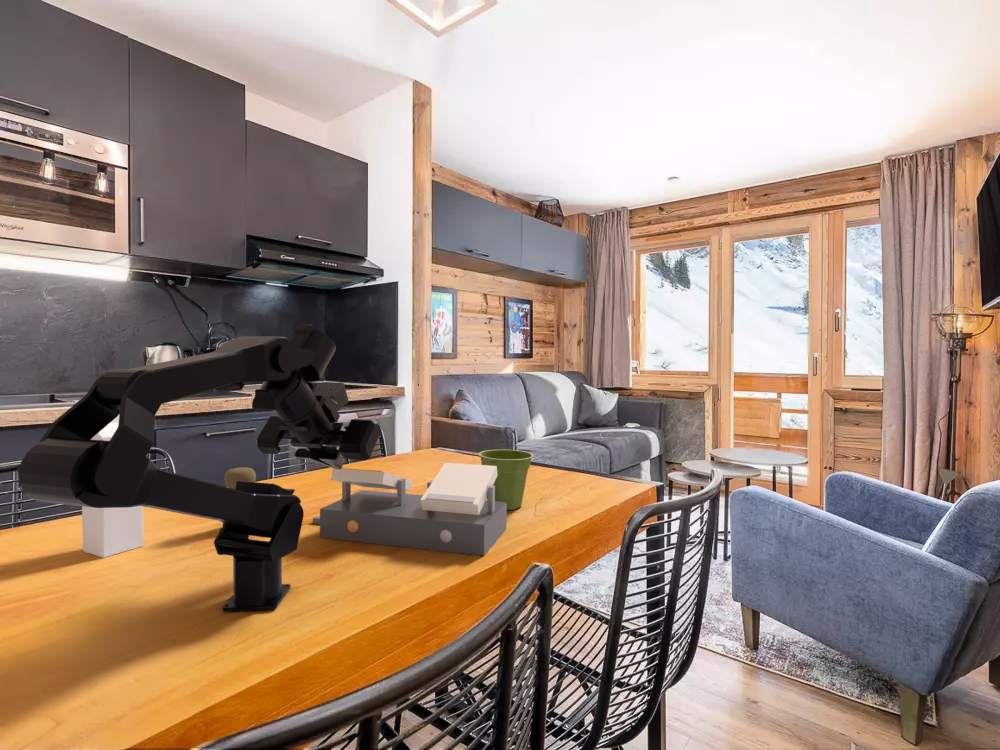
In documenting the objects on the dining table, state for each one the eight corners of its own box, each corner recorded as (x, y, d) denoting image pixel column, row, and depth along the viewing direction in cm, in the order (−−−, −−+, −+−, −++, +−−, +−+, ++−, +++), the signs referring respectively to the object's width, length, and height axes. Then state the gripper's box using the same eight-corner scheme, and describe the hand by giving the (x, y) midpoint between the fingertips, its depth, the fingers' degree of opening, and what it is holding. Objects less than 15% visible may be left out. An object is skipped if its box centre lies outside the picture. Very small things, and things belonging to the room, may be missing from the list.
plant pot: (501, 517, 105) (502, 461, 105) (466, 504, 114) (467, 452, 114) (544, 507, 112) (545, 455, 112) (508, 496, 122) (508, 447, 121)
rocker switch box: (483, 556, 84) (484, 497, 84) (289, 534, 94) (289, 481, 94) (506, 529, 98) (506, 478, 98) (335, 512, 107) (335, 465, 107)
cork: (244, 534, 94) (243, 472, 93) (214, 531, 95) (213, 470, 95) (265, 523, 100) (265, 465, 99) (237, 521, 101) (237, 464, 100)
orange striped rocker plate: (382, 484, 90) (384, 471, 91) (330, 479, 93) (333, 467, 93) (410, 490, 101) (412, 479, 102) (363, 487, 104) (365, 475, 104)
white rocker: (478, 514, 86) (477, 503, 86) (422, 509, 89) (420, 498, 88) (497, 475, 97) (496, 465, 96) (446, 471, 100) (445, 461, 99)
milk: (82, 552, 85) (79, 414, 84) (123, 540, 90) (120, 411, 89) (104, 558, 82) (100, 416, 81) (144, 546, 87) (142, 413, 87)
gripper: (375, 366, 78) (407, 430, 89) (268, 364, 83) (311, 425, 94) (346, 426, 71) (385, 487, 82) (231, 420, 76) (282, 479, 87)
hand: (340, 466), depth 86 cm, fingers closed
